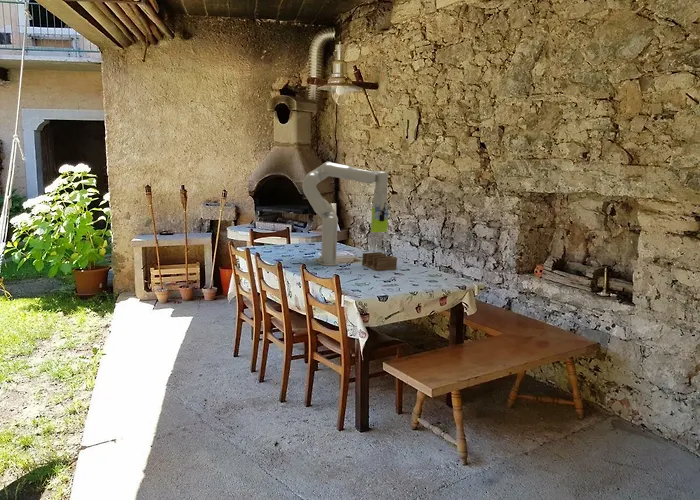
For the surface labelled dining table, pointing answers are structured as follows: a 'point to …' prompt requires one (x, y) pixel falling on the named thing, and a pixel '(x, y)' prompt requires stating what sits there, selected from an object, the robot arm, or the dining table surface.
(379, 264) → the rack
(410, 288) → the dining table surface
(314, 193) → the robot arm
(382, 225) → the box
